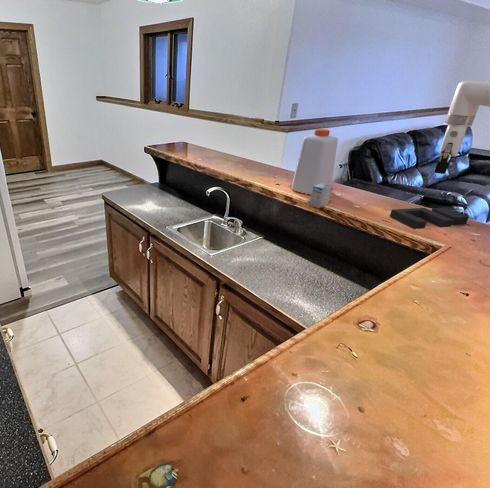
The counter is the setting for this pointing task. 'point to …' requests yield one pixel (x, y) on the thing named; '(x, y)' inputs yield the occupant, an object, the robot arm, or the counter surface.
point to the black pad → (452, 215)
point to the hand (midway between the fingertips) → (440, 170)
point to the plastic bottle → (315, 161)
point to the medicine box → (320, 195)
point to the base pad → (412, 220)
